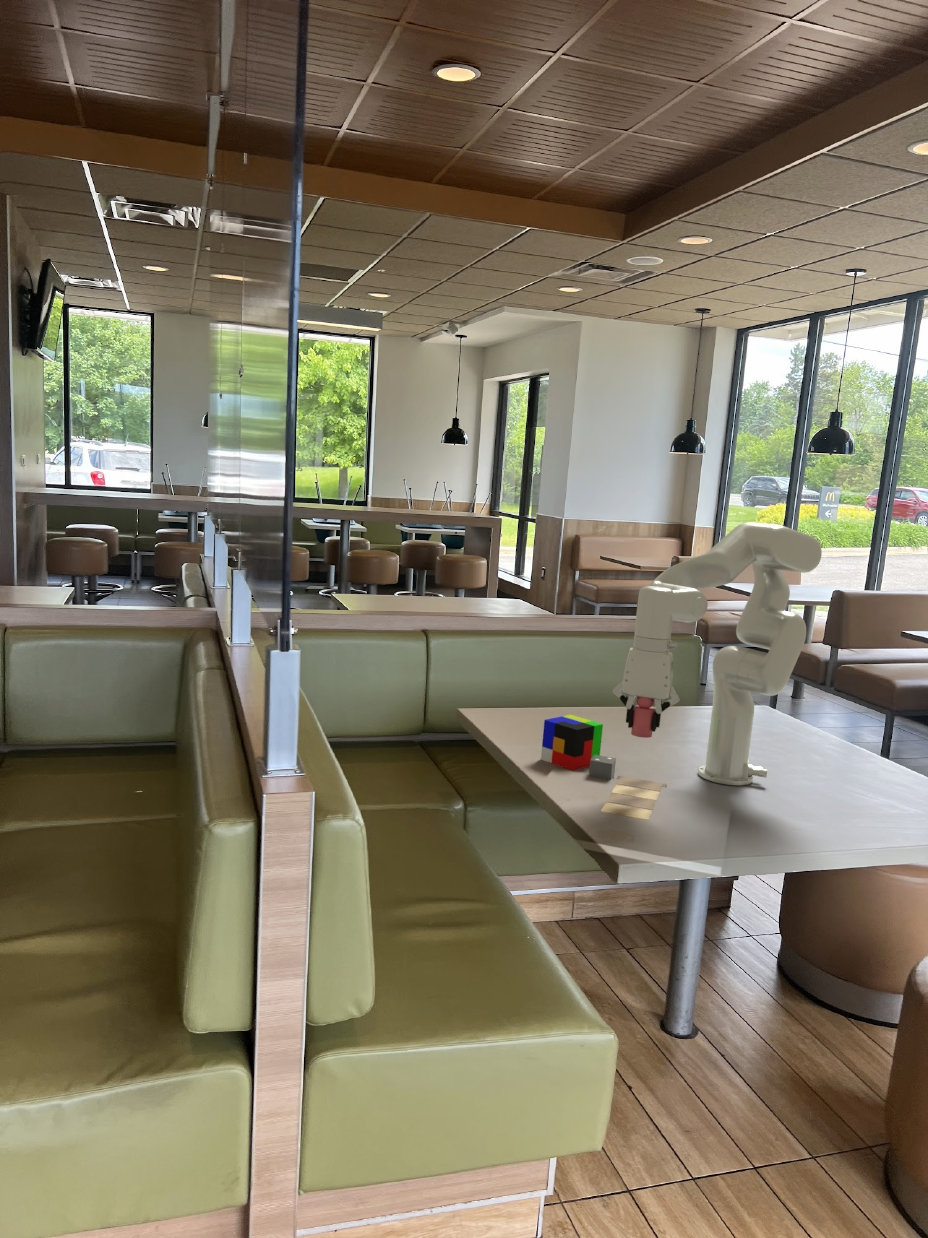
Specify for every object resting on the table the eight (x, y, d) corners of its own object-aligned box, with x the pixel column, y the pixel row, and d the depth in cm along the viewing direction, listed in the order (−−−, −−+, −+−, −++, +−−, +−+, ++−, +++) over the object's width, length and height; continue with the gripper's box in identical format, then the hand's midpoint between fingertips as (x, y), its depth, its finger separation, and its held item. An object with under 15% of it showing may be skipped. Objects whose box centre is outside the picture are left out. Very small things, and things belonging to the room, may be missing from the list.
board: (666, 788, 207) (666, 783, 207) (650, 827, 182) (651, 822, 181) (617, 780, 210) (618, 774, 210) (596, 817, 185) (596, 811, 185)
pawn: (653, 734, 198) (657, 691, 197) (650, 738, 194) (655, 695, 193) (632, 730, 200) (637, 688, 198) (629, 735, 195) (634, 692, 194)
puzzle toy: (540, 759, 222) (544, 719, 220) (566, 753, 229) (570, 714, 227) (573, 771, 215) (577, 729, 213) (598, 764, 222) (602, 724, 220)
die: (613, 779, 211) (616, 757, 210) (610, 785, 206) (612, 763, 206) (592, 775, 213) (594, 754, 212) (588, 781, 208) (590, 760, 207)
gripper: (693, 647, 195) (683, 730, 197) (614, 637, 200) (606, 718, 203) (690, 652, 188) (680, 738, 190) (608, 642, 193) (600, 726, 196)
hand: (642, 727), depth 197 cm, fingers closed on pawn, 4 cm apart
